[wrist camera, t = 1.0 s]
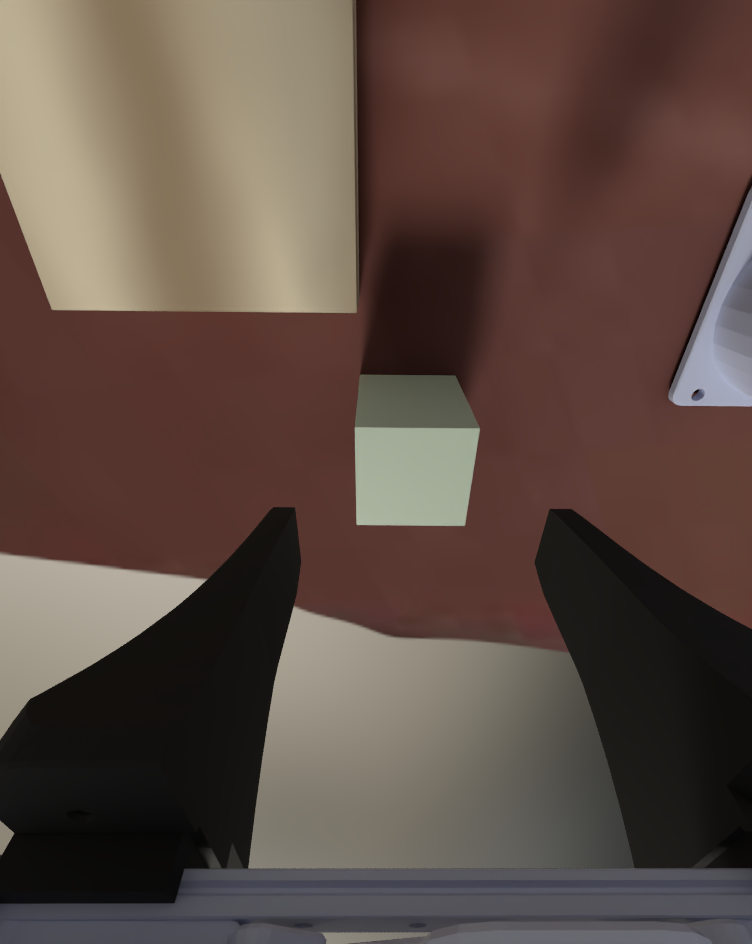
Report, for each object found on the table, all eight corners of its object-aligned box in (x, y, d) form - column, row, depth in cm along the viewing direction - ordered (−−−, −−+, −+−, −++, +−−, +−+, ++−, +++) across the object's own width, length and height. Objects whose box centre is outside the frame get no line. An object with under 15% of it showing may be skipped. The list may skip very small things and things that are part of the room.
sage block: (455, 375, 18) (479, 428, 14) (446, 457, 20) (464, 525, 16) (360, 374, 18) (354, 427, 14) (360, 456, 20) (356, 524, 16)
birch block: (355, -108, 11) (349, -200, 9) (359, 296, 17) (356, 312, 14) (-25, -114, 11) (-143, -207, 9) (101, 293, 16) (52, 309, 14)
